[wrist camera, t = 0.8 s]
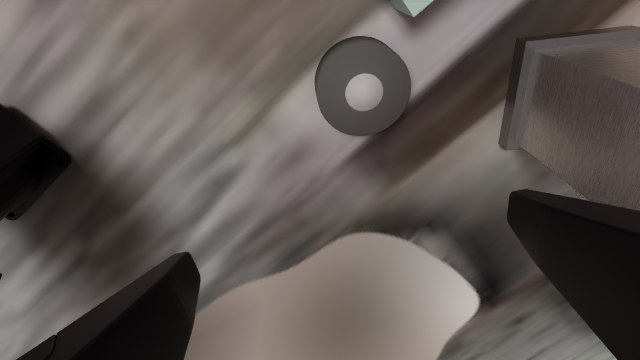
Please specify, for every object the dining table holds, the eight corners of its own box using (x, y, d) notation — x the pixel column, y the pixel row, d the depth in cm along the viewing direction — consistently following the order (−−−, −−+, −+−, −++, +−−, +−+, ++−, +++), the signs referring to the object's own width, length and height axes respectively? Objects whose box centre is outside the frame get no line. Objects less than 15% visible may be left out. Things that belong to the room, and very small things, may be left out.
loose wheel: (350, 138, 23) (355, 153, 21) (296, 78, 21) (297, 89, 19) (417, 85, 22) (428, 96, 20) (366, 15, 19) (374, 20, 18)
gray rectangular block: (498, 143, 24) (634, 261, 14) (516, 38, 21) (708, 102, 11) (596, 132, 24) (796, 242, 15) (630, 25, 21) (918, 78, 11)
